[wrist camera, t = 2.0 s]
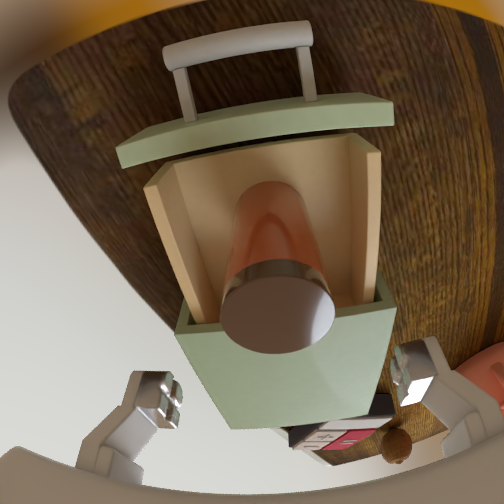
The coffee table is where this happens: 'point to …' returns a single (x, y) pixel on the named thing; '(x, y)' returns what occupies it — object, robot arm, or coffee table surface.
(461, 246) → the coffee table surface
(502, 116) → the coffee table surface
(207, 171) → the drawer
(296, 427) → the calculator
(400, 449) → the fruit
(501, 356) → the teapot
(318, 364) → the cabinet
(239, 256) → the spice jar
